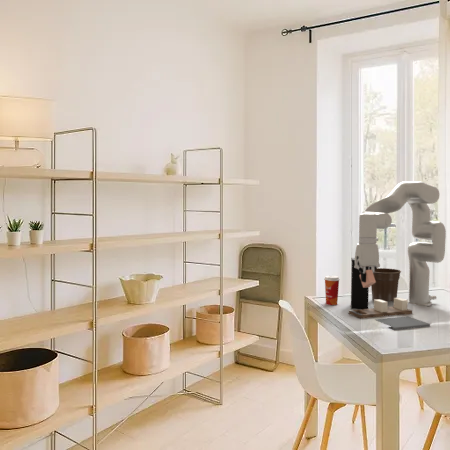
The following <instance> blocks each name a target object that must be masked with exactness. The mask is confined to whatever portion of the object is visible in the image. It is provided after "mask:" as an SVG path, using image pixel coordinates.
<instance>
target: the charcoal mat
mask: <svg viewBox="0 0 450 450" xmlns="http://www.w3.org/2000/svg"><path fill="white" fill-rule="evenodd" d="M374 321H377V322H378V323H382V324H384V325H386V326H387V328H389V329H391V330H393V331H399V330H410V329H420V328H426V327H427V328H429V327H431V324H430V323H428V322H425V321H423V320H419V319H417V318H414V317H411V316H409V315H405V316H397V317H396V316H395V317H387V318H386V317H384V318H375V319H374Z"/></svg>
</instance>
